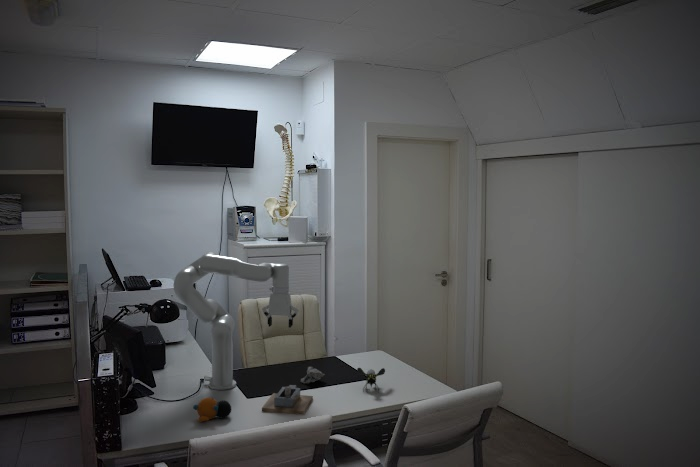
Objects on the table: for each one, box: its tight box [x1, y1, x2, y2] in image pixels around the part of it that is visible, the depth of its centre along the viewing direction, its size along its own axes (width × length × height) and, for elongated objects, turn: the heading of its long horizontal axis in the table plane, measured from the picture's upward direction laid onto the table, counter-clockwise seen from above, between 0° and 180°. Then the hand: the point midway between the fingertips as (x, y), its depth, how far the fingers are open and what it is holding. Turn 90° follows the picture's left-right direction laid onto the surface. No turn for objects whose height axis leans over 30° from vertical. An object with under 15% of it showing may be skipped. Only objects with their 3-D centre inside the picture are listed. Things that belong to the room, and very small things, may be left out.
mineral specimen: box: [300, 366, 325, 385], centre depth 273 cm, size 10×8×10 cm
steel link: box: [274, 384, 301, 408], centre depth 245 cm, size 16×8×4 cm, turn 172°
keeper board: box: [261, 385, 314, 415], centre depth 244 cm, size 18×17×8 cm
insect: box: [356, 367, 386, 393], centre depth 263 cm, size 13×16×10 cm
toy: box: [193, 397, 232, 423], centre depth 229 cm, size 12×10×15 cm
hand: (280, 326), depth 265 cm, fingers open, 9 cm apart
